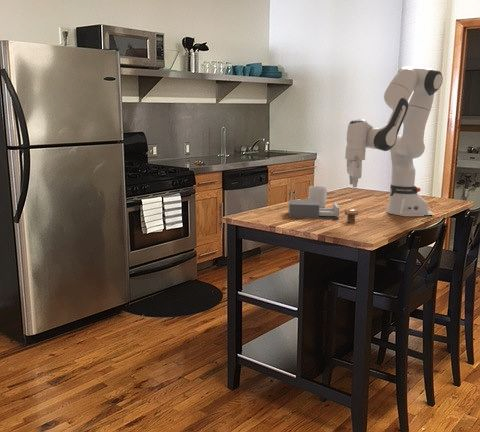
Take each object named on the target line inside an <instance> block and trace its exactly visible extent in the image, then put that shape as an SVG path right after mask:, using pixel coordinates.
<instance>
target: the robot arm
mask: <svg viewBox="0 0 480 432" xmlns="http://www.w3.org/2000/svg"><path fill="white" fill-rule="evenodd" d="M443 79H444V78H443V74H442V72H441V71H440V70H438V69H435V68H429V67H424V66H409V65H407V66H403V67H401V68H400V69H398V71H397V73H396V75H395V76H394V77H393V78H392V79H391V81H390V83H389V85H388V86H387V87H386V89H385V91H384V94H383V100H384V102H385V104H386V105H387V107H388V108H390V109H391V110H392V111H391V114H390V116H389V119H388V121H387V124H386V125H385V126H382V127H376V126H373V125H371V124H370V123H368V122H367V120H366V119H363V118H362V119H361V118H360V119H353V120H351V121H350V122H349V123H348V124H347V130H346V147H345V154H344V155H345V156H344V159H345V160H346V173H347V174H348V176H349V185H351V186H352V187H353V188H355V189H357V187H358V182H359V179H361V178H362V172H363V171H362V170H363V162H362V161H365V160H366V149H368V148H369V149H371V150H372V149H374V150H379V151H382V152H383V151H384V152H388V151H389V152H390V157H391V164H392V165H391V166H392V167H391V169H392V173H391V184H390V187H389V200H388V205H387V208H386V210H385V212H386V213H387V214H391V215H395V216H401V217H425V216H424V215H433V212H432V211H431V210H429V204H428V201H427V200H426V199H424V198H423V197H422V196H421V195H420V194H419V193H420V192H421V191H422V190H421V187H417V186H416V185H415V180H416V168H415V166H414V160H413V159H417V158H420V157H421V156H423V154H424V152H425V149H426V146H425V143H424V139H425V131H426V125H427V122H428V120H429V116H430V113H431V111H432V107H433V103H434V99H435V98H434V97H435V93H437V92H438V91H439V89H440V87H441V86H442V85H443ZM402 125H403V128H402V129H403V130H402V134H399V131H400V130H401V127H402Z"/></svg>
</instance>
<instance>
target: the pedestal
mask: <svg viewBox="0 0 480 432" xmlns="http://www.w3.org/2000/svg"><path fill="white" fill-rule="evenodd" d="M346 220H347V222H348V223H355V222H356V215H347V218H346Z"/></svg>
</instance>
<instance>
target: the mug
mask: <svg viewBox="0 0 480 432" xmlns="http://www.w3.org/2000/svg"><path fill="white" fill-rule="evenodd" d="M327 193H328V189H327V187H325V186H316V185H313V186H312V185H311V186H308V197H307V200H317V201H318V203H319V208H326V200H327V195H328V194H327Z"/></svg>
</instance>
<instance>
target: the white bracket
mask: <svg viewBox="0 0 480 432" xmlns="http://www.w3.org/2000/svg"><path fill="white" fill-rule="evenodd" d="M339 213H340V207H339V205H338V204H337V202H333V207H331V208H329V207H328V208H326V207H325V208H319V216H336V217H338V218H339V215H340V214H339Z"/></svg>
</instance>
